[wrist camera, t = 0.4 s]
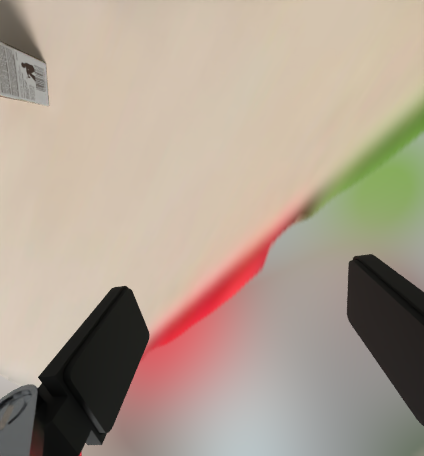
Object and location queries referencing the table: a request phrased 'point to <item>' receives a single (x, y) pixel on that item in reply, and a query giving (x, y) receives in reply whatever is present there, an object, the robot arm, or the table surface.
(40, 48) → the table surface
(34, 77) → the coffee box
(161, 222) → the table surface
